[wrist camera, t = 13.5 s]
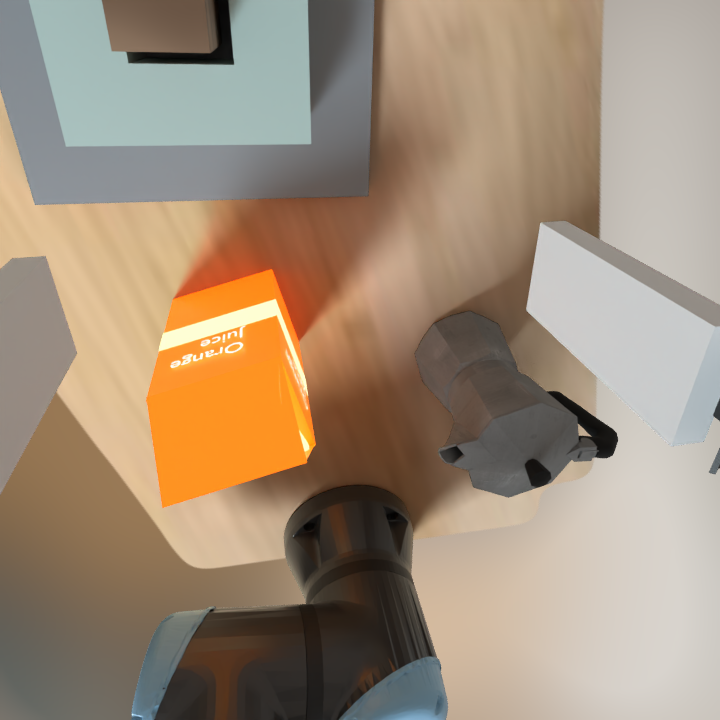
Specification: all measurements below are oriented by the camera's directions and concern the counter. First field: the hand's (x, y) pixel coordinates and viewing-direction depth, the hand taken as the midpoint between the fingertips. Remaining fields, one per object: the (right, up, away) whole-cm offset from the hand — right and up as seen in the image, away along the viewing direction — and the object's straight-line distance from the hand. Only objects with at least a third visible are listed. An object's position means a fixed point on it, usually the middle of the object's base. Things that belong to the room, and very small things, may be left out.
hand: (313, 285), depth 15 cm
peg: (-10, +20, +19) cm, 29 cm away
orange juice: (-9, +2, +32) cm, 34 cm away
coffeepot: (+12, -1, +39) cm, 40 cm away
